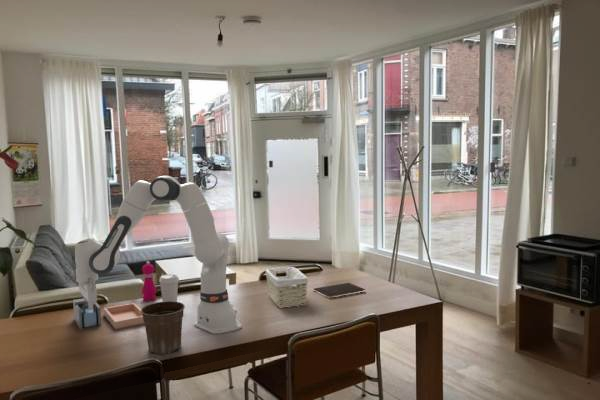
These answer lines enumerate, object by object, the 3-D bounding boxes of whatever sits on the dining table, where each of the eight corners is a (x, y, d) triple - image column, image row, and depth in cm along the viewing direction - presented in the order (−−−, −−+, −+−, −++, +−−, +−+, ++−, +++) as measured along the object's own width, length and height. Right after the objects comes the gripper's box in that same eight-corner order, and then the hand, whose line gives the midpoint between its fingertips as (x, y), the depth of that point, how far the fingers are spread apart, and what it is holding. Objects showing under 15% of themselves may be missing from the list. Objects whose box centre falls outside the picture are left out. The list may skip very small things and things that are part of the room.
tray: (148, 323, 214) (147, 315, 214) (115, 329, 206) (115, 321, 206) (134, 309, 232) (134, 302, 232) (103, 315, 225) (103, 308, 224)
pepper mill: (152, 301, 245) (150, 263, 243) (139, 300, 246) (137, 262, 244) (159, 297, 252) (157, 259, 250) (146, 296, 253) (145, 259, 251)
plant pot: (144, 360, 176) (142, 317, 175) (140, 344, 191) (138, 304, 189) (189, 352, 183) (188, 311, 181) (182, 337, 197) (180, 299, 196)
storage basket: (309, 306, 236) (308, 277, 234) (276, 310, 231) (276, 280, 229) (294, 293, 259) (294, 266, 257) (265, 296, 254) (264, 268, 252)
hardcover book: (365, 293, 258) (365, 289, 258) (328, 300, 248) (328, 295, 247) (348, 286, 272) (348, 282, 272) (313, 292, 262) (313, 288, 261)
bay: (101, 324, 213) (100, 304, 212) (79, 328, 208) (78, 308, 207) (94, 315, 225) (93, 296, 224) (74, 319, 220) (73, 300, 219)
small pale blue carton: (96, 325, 213) (95, 304, 212) (84, 327, 210) (83, 306, 209) (90, 317, 223) (89, 297, 222) (78, 319, 220) (77, 299, 219)
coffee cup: (168, 310, 231) (167, 279, 230) (155, 306, 237) (154, 276, 235) (183, 305, 239) (183, 275, 237) (171, 301, 245) (170, 272, 243)
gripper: (100, 280, 203) (101, 312, 204) (90, 270, 220) (91, 300, 221) (83, 282, 199) (85, 315, 201) (75, 272, 216) (76, 302, 218)
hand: (88, 307), depth 211 cm, fingers open, 6 cm apart
